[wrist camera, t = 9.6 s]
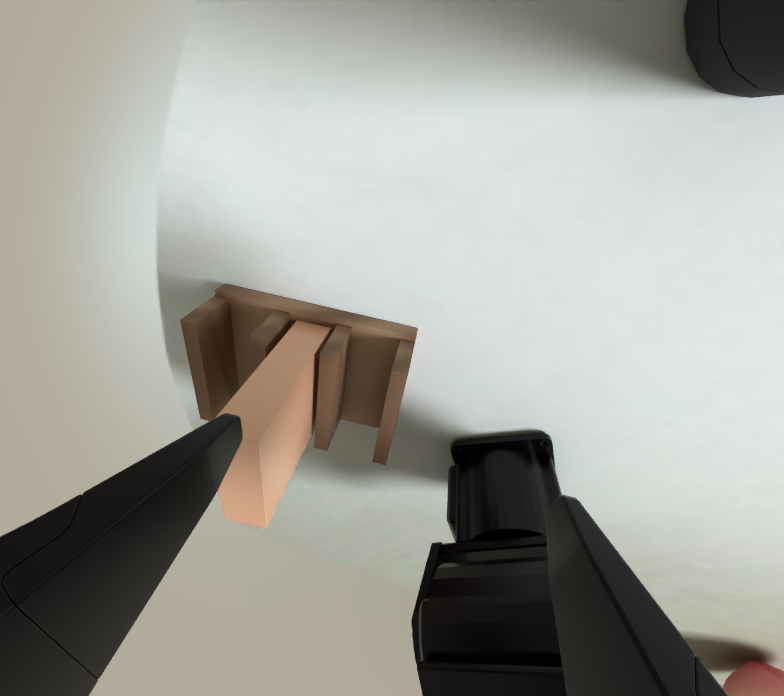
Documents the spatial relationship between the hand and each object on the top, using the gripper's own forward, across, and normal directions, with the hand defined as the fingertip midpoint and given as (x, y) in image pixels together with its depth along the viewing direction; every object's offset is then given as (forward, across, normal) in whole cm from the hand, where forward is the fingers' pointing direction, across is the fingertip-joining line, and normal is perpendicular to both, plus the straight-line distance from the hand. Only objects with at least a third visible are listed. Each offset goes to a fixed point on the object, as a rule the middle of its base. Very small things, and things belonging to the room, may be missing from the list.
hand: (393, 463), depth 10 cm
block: (+10, +6, +6) cm, 13 cm away
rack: (+11, +6, +6) cm, 14 cm away
